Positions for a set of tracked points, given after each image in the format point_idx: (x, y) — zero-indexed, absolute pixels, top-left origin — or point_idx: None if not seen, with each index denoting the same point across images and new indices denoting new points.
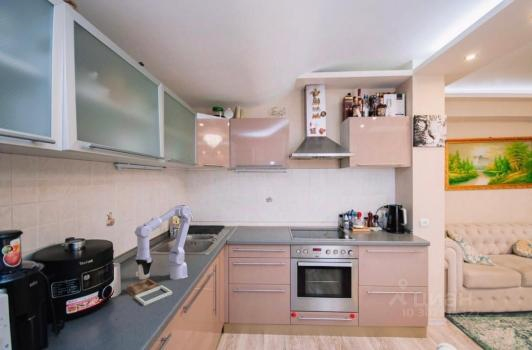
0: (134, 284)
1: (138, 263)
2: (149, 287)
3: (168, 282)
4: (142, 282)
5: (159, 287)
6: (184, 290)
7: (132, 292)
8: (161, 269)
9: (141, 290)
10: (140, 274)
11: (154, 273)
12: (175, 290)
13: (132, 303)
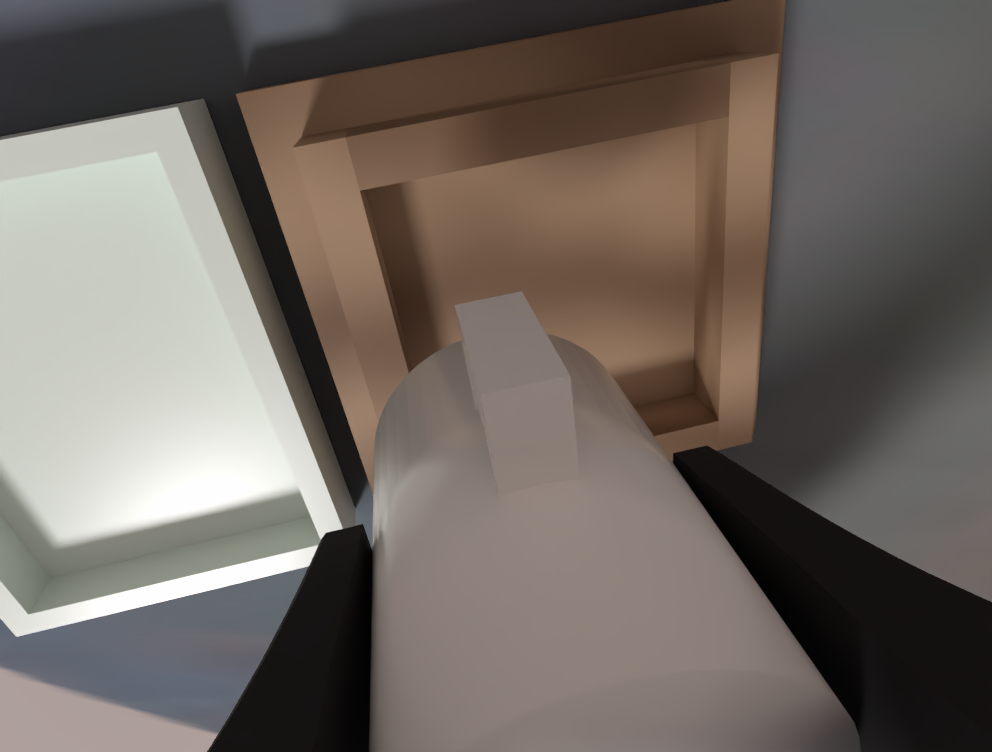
0: (725, 202)
1: (934, 714)
2: (372, 402)
3: None
4: (712, 336)
5: (313, 514)
6: (136, 696)
7: (466, 106)
8: (972, 570)
9: (331, 266)
10: (435, 441)
11: (948, 496)
12: (204, 625)
13: (74, 23)
